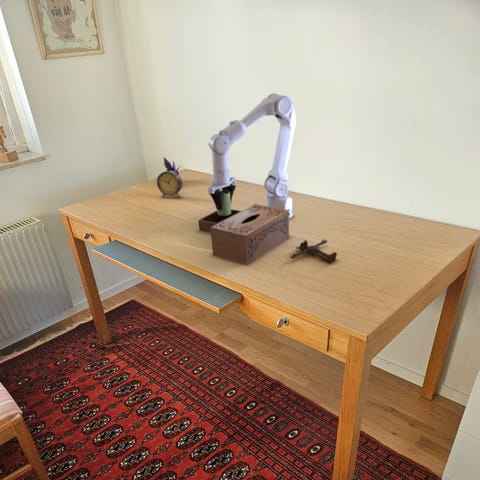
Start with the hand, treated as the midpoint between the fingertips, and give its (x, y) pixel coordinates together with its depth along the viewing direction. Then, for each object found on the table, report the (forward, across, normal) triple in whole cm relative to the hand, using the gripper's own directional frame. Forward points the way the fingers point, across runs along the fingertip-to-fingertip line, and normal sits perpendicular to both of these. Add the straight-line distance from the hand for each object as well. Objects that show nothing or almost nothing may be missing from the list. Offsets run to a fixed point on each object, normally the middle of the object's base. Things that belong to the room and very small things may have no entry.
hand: (223, 207), depth 167 cm
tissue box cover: (+8, +10, +18) cm, 23 cm away
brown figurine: (+8, +7, +42) cm, 43 cm away
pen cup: (+2, 0, 0) cm, 2 cm away
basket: (+8, 0, +1) cm, 8 cm away
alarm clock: (+8, -20, -44) cm, 49 cm away
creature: (+8, -37, -60) cm, 71 cm away
